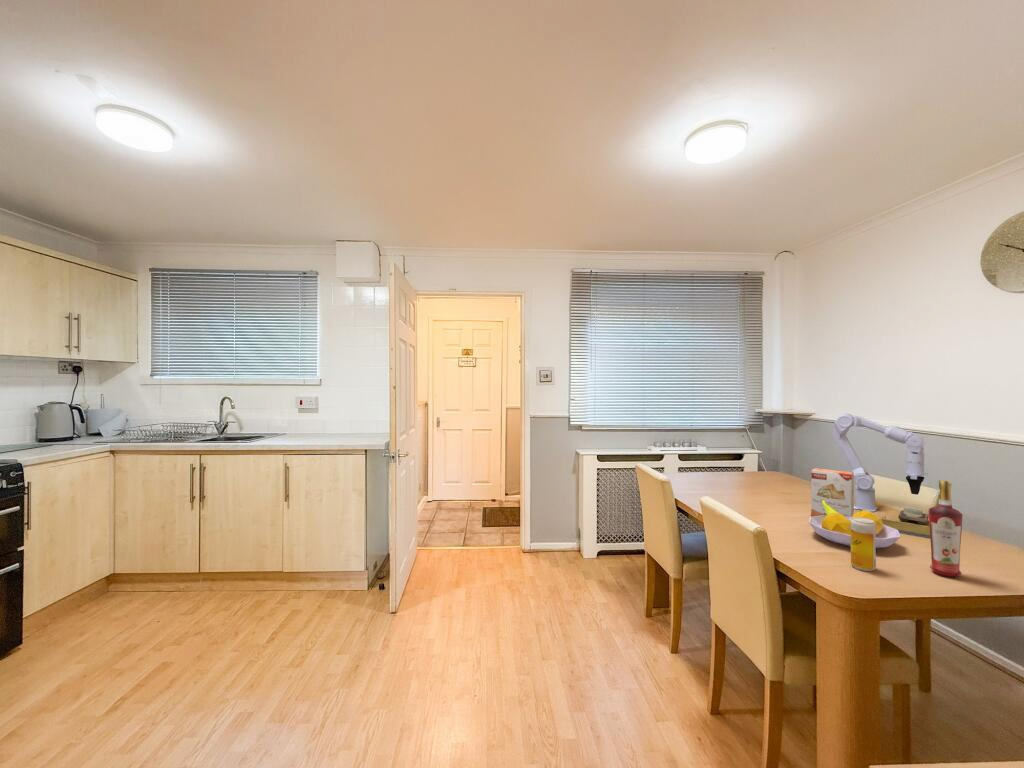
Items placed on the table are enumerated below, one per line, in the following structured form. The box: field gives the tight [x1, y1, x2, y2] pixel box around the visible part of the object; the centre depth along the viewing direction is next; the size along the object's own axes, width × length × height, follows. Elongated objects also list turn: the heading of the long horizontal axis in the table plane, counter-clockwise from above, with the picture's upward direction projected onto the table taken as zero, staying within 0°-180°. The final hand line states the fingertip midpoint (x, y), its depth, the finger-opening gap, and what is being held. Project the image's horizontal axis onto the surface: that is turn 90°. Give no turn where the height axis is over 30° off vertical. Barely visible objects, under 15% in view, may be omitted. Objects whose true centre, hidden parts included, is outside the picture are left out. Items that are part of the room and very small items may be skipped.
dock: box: [880, 514, 931, 540], centre depth 173 cm, size 16×18×4 cm
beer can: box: [850, 518, 877, 572], centre depth 137 cm, size 6×6×15 cm
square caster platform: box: [898, 506, 929, 526], centre depth 183 cm, size 10×9×5 cm
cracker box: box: [810, 467, 855, 517], centre depth 185 cm, size 14×6×21 cm, turn 45°
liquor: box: [928, 480, 963, 578], centre depth 132 cm, size 7×7×28 cm
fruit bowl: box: [808, 500, 901, 549], centre depth 161 cm, size 28×27×11 cm
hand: (915, 493), depth 190 cm, fingers open, 3 cm apart
